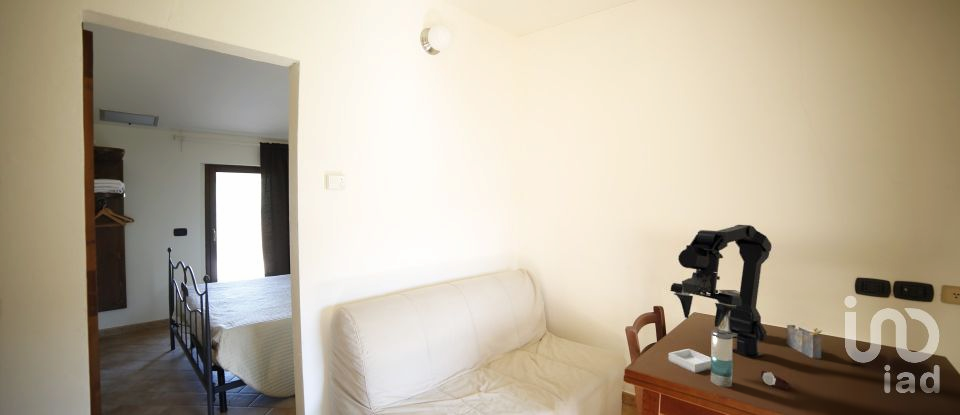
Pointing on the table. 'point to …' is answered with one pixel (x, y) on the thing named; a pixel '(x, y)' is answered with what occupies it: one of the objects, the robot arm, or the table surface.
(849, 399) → the table surface
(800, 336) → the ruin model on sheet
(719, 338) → the tin canister
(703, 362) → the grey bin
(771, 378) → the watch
